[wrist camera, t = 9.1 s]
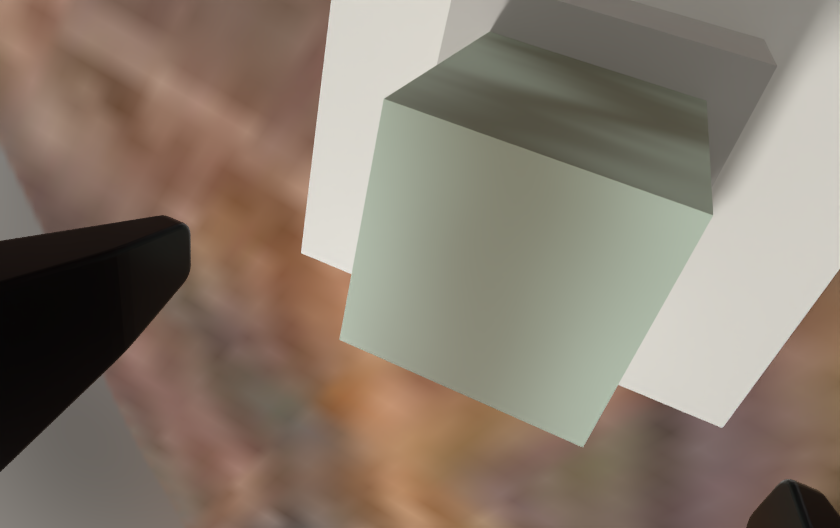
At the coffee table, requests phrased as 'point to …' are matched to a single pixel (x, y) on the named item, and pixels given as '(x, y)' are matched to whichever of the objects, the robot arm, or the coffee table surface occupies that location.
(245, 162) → the coffee table surface
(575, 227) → the sage block
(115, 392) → the coffee table surface
